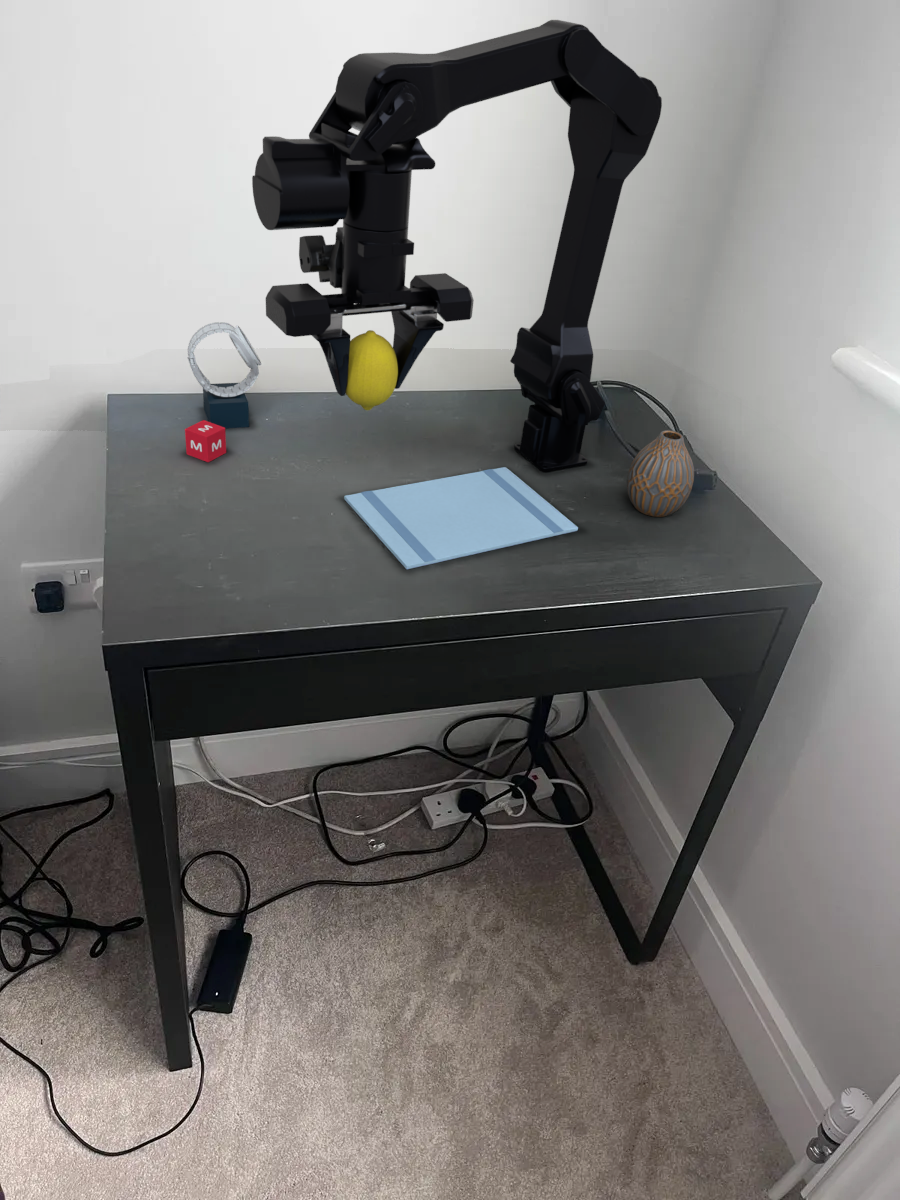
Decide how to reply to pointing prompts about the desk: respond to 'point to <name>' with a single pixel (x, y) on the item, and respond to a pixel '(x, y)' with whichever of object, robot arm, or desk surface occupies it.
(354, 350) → the lemon
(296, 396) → the desk surface
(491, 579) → the desk surface
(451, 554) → the cloth
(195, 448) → the red letter cube
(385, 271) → the robot arm
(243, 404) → the watch
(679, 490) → the vase
